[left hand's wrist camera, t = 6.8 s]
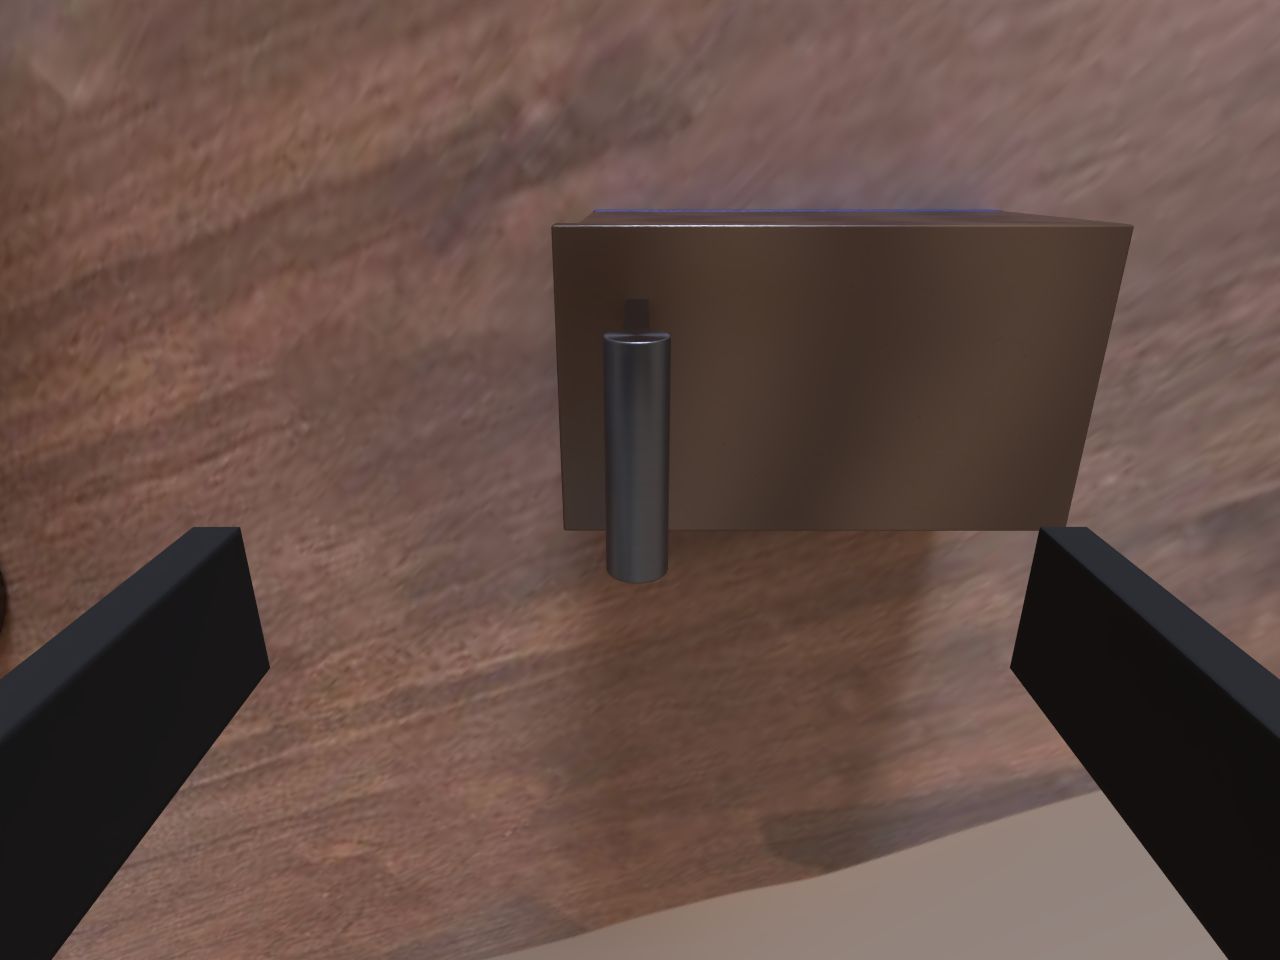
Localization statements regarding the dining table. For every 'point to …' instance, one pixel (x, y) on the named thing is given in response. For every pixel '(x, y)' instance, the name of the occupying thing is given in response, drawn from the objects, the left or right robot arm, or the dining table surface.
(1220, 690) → the left robot arm
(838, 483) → the lid
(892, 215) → the chest
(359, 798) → the dining table surface
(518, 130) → the dining table surface
